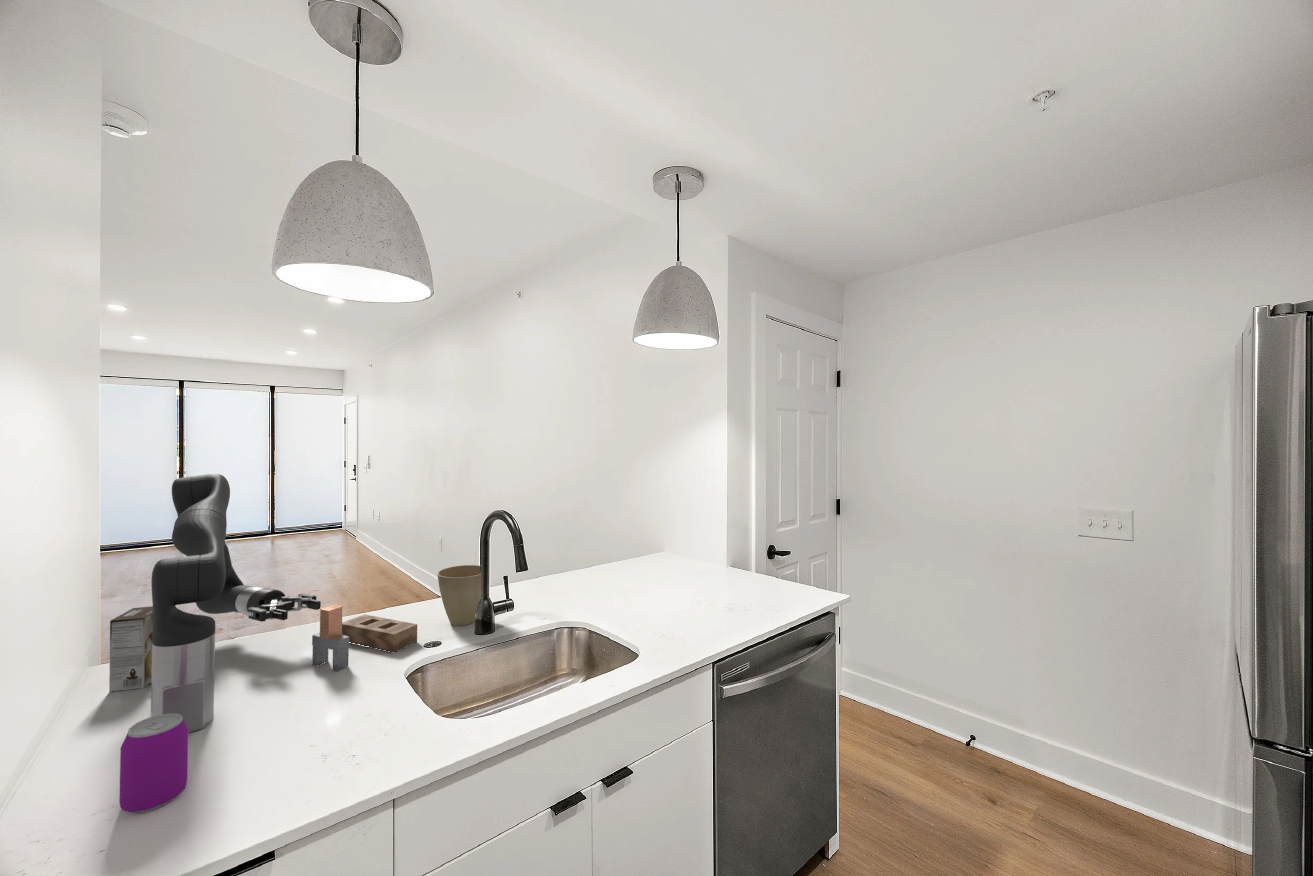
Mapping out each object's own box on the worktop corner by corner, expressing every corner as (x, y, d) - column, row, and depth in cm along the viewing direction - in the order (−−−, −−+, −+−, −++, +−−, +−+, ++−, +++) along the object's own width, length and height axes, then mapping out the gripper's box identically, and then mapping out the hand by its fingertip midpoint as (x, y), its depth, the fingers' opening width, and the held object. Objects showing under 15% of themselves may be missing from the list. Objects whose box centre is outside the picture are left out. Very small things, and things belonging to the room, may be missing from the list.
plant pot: (451, 612, 169) (452, 563, 169) (494, 614, 168) (495, 565, 168) (426, 629, 154) (427, 576, 154) (474, 632, 153) (475, 578, 153)
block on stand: (349, 666, 129) (351, 608, 129) (336, 672, 126) (337, 612, 126) (324, 659, 132) (325, 603, 132) (310, 665, 129) (311, 607, 129)
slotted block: (417, 642, 145) (417, 624, 145) (393, 653, 137) (393, 634, 137) (364, 631, 152) (364, 614, 152) (339, 641, 144) (339, 623, 144)
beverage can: (104, 813, 78) (106, 734, 78) (160, 780, 86) (162, 708, 86) (147, 820, 77) (148, 740, 77) (200, 786, 85) (201, 713, 85)
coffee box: (131, 674, 122) (133, 607, 122) (166, 670, 125) (167, 604, 125) (107, 693, 114) (109, 620, 114) (145, 688, 116) (146, 617, 116)
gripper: (231, 595, 131) (274, 604, 126) (288, 581, 145) (329, 588, 139) (230, 625, 131) (274, 634, 126) (287, 608, 145) (329, 616, 139)
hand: (303, 610), depth 132 cm, fingers open, 8 cm apart
